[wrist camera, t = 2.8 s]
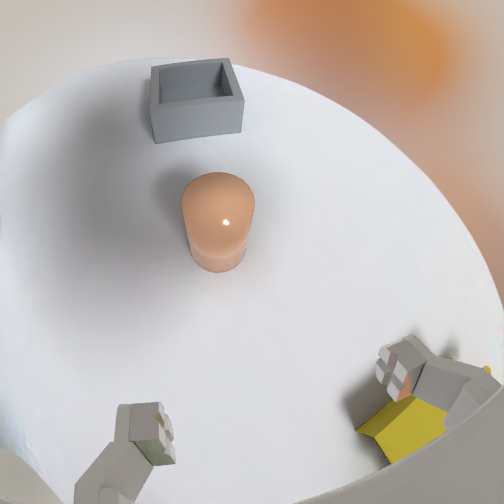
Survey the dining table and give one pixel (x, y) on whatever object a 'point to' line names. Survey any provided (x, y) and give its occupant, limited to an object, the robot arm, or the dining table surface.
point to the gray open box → (195, 100)
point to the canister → (217, 220)
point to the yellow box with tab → (405, 426)
